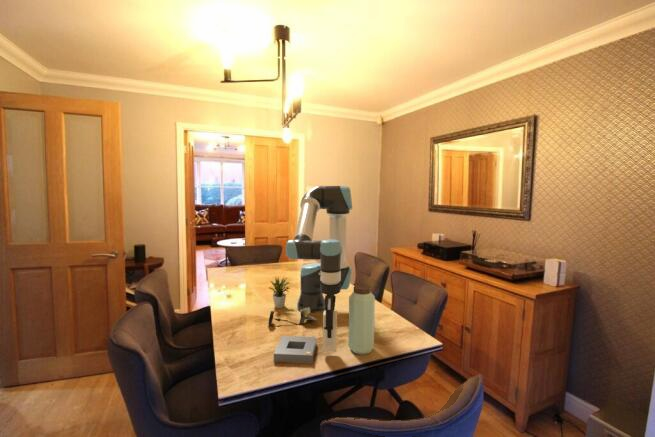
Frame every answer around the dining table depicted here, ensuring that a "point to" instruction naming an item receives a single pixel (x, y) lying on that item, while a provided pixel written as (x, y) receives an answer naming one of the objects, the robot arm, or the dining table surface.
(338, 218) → the robot arm
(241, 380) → the dining table surface
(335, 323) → the cream long rectangular block
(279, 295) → the house plant
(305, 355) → the socket
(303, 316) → the artificial flower
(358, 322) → the water bottle
